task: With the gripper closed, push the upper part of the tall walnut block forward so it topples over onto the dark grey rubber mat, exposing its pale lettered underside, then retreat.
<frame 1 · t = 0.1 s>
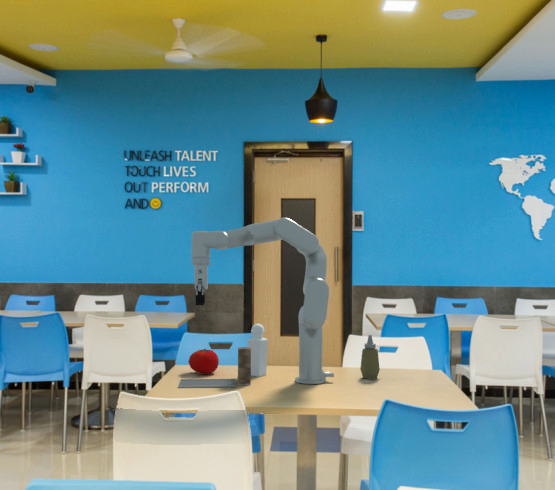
hand: (200, 304, 235), 31 cm above the table, fingers open, 9 cm apart
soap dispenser: (257, 375, 249), on the table
grey rubber mat: (207, 383, 231), on the table
tomato: (203, 373, 253), on the table
walnut block: (244, 383, 232), on the table
squeeze bottle: (369, 378, 245), on the table
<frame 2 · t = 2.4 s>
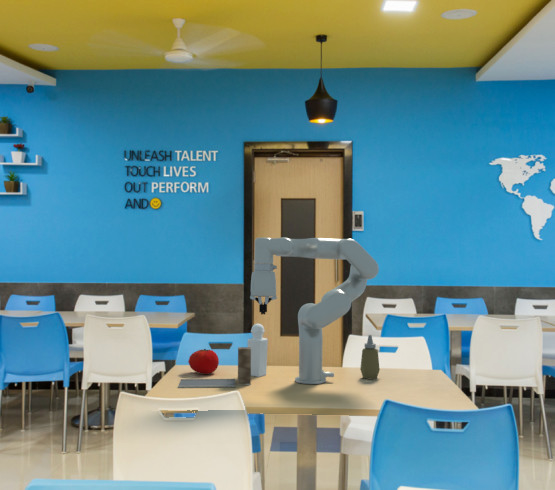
hand: (263, 314, 233), 28 cm above the table, fingers closed
nothing on the table moved.
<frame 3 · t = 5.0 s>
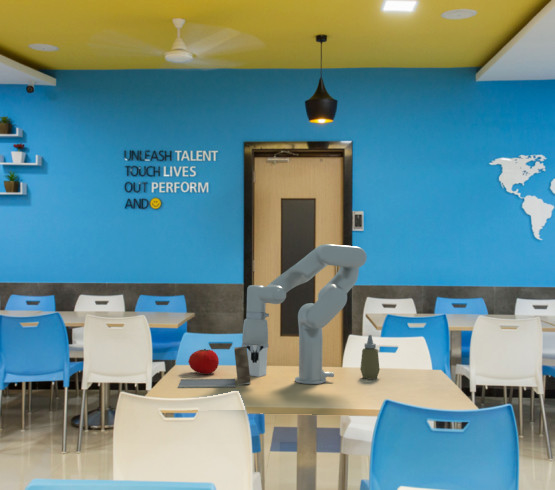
hand: (254, 362, 233), 8 cm above the table, fingers closed
walnut block: (244, 382, 232), on the table, tilted 6°
everything else where it was.
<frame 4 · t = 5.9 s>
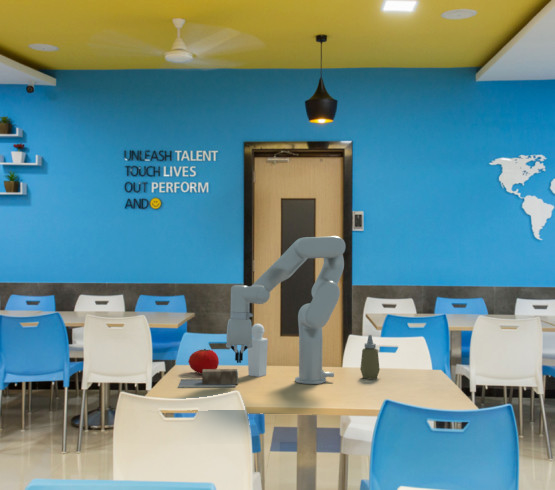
hand: (238, 362, 232), 8 cm above the table, fingers closed
walnut block: (238, 376, 232), point 3 cm above the table, tilted 90°, touching grey rubber mat
everything else where it was.
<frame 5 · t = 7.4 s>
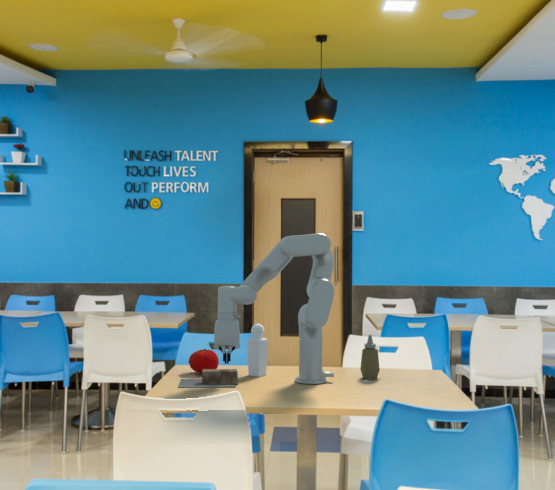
hand: (226, 363, 232), 8 cm above the table, fingers closed
nothing on the table moved.
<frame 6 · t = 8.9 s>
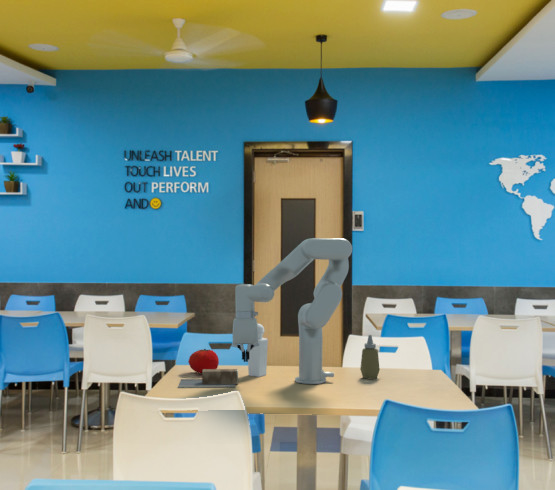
hand: (245, 361, 232), 9 cm above the table, fingers closed
nothing on the table moved.
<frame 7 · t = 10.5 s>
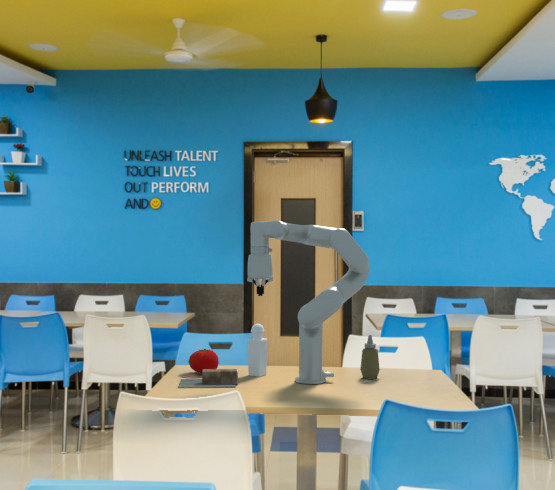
hand: (260, 295, 241), 34 cm above the table, fingers closed
nothing on the table moved.
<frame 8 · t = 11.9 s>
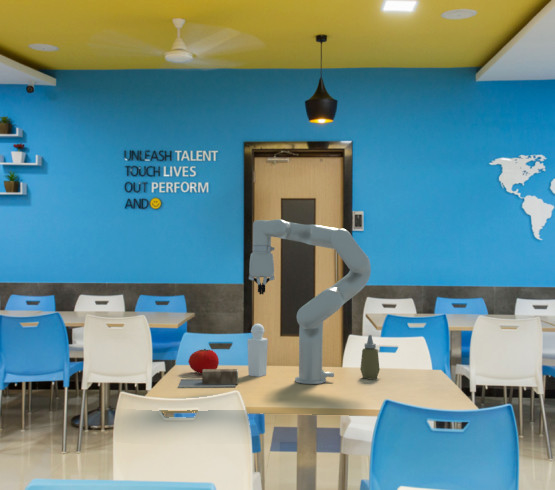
hand: (261, 294, 242), 35 cm above the table, fingers closed
nothing on the table moved.
at the end: walnut block tilted 90°; walnut block inside the target area (9.5 cm from its centre), point 2.8 cm above the table; the gripper is holding nothing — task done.
